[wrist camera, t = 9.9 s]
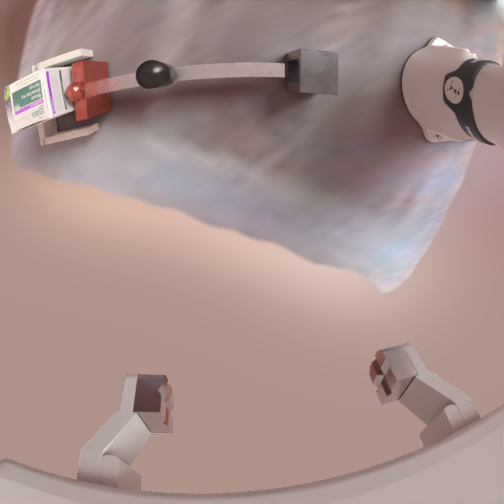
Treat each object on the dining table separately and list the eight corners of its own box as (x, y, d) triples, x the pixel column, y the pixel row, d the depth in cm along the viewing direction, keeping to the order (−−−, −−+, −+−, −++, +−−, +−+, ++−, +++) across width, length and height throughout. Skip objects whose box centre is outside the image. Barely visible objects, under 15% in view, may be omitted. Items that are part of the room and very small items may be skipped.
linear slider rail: (277, 47, 32) (303, 34, 22) (277, 95, 36) (302, 102, 25) (95, 65, 30) (51, 64, 19) (99, 112, 34) (58, 128, 23)
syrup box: (95, 65, 30) (42, 64, 18) (100, 103, 33) (50, 119, 21) (61, 77, 30) (1, 85, 18) (67, 114, 33) (10, 136, 21)
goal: (92, 50, 29) (81, 48, 26) (99, 129, 35) (88, 134, 32) (45, 65, 28) (31, 65, 25) (53, 139, 35) (40, 146, 31)
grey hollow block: (318, 55, 33) (338, 52, 28) (318, 91, 36) (337, 95, 30) (286, 53, 33) (300, 48, 27) (286, 90, 36) (300, 92, 30)
